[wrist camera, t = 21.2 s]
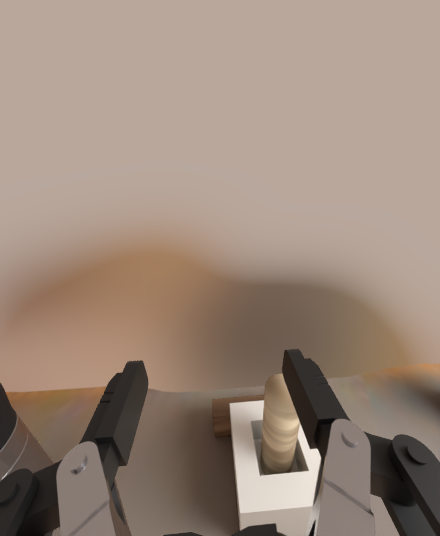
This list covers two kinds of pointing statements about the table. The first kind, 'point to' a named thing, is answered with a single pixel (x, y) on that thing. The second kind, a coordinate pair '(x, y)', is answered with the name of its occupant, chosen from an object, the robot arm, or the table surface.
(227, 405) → the backstop board
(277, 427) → the wooden dowel
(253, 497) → the sliding block
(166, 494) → the table surface
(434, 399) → the table surface
